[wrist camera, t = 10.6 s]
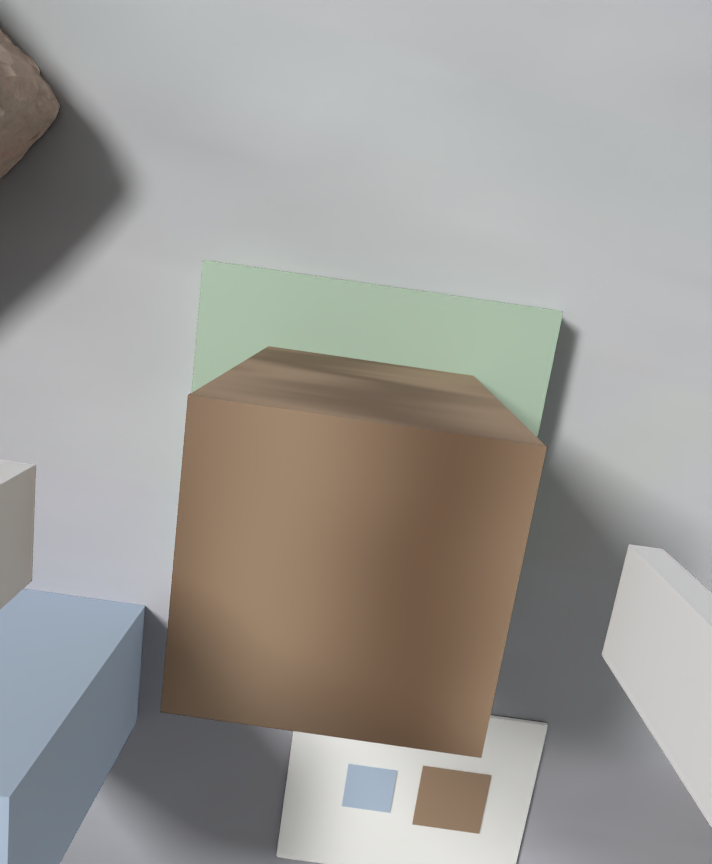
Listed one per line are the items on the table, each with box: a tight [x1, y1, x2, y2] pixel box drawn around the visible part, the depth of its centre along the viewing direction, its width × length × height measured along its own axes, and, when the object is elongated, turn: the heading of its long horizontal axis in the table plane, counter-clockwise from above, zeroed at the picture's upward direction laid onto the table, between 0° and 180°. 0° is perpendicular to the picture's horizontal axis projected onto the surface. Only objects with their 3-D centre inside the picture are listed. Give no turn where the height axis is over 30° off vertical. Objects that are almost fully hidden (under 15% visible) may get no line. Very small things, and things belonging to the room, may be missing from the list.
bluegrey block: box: [0, 589, 145, 864], centre depth 22 cm, size 5×5×10 cm
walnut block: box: [160, 346, 547, 758], centre depth 19 cm, size 7×7×10 cm
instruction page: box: [276, 715, 548, 864], centre depth 28 cm, size 10×8×1 cm
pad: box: [191, 260, 563, 437], centre depth 24 cm, size 12×12×1 cm
